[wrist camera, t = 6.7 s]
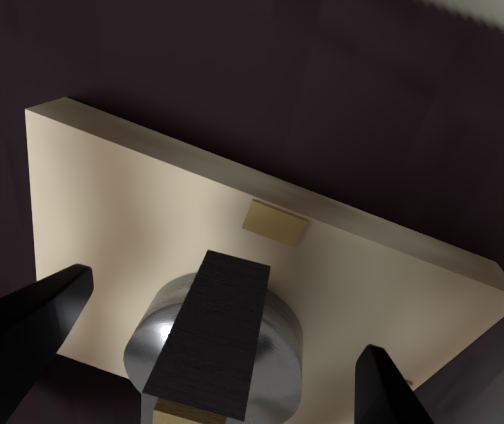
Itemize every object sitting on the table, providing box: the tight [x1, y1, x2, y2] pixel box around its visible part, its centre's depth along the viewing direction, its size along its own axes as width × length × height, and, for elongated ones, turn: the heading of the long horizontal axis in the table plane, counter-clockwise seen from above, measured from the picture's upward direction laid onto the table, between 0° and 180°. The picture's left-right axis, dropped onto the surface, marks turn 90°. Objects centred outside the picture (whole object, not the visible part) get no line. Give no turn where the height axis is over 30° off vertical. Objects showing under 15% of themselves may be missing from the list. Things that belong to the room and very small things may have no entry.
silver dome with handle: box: [123, 250, 303, 424], centre depth 11 cm, size 13×7×7 cm, turn 169°
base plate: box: [25, 97, 504, 424], centre depth 15 cm, size 18×14×2 cm
